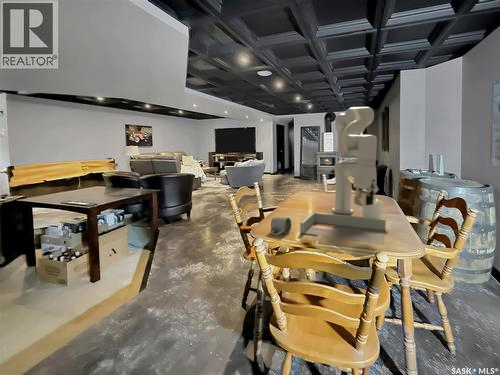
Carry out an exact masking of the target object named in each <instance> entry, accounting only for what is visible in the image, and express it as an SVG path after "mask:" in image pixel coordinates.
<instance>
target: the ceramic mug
mask: <svg viewBox="0 0 500 375" xmlns="http://www.w3.org/2000/svg"><path fill="white" fill-rule="evenodd" d="M270 227H271V228H270V234H271V235H272V236H274V237H275V236H280V235H282V234H286V235H288V234H289V233H290V232H291V229H292V220H291V218H290V217H287V216H286V217H283V216H275V217H273V218H272V219H271V222H270ZM273 231H274V232H273Z"/></svg>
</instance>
